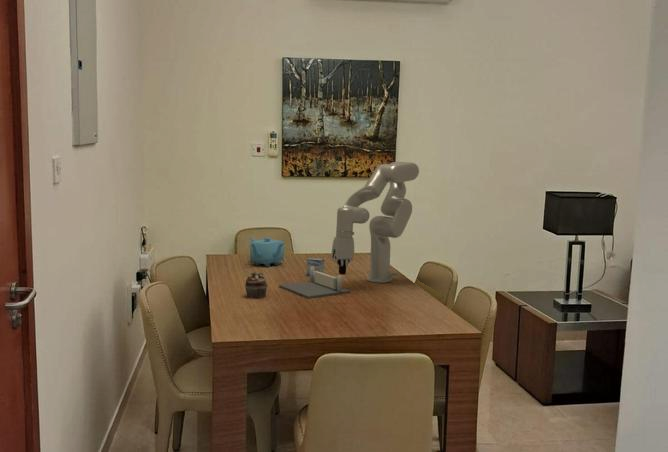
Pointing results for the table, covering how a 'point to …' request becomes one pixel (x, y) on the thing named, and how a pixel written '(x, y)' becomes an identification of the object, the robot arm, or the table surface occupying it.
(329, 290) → the gate base
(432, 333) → the table surface
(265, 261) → the teakettle
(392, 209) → the robot arm
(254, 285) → the cupcake
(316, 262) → the medicine box
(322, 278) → the bar
